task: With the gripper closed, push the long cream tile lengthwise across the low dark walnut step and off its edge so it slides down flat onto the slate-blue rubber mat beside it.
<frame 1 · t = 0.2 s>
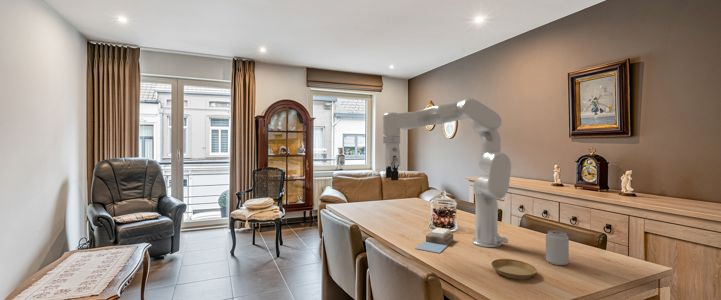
hand: (391, 179, 140), 31 cm above the table, tool pointing down, fingers open, 9 cm apart
can: (557, 263, 122), on the table
tile: (440, 234, 151), point 3 cm above the table, touching step
plant saucer: (513, 274, 113), on the table
step: (439, 241, 150), on the table
mat: (431, 247, 141), on the table
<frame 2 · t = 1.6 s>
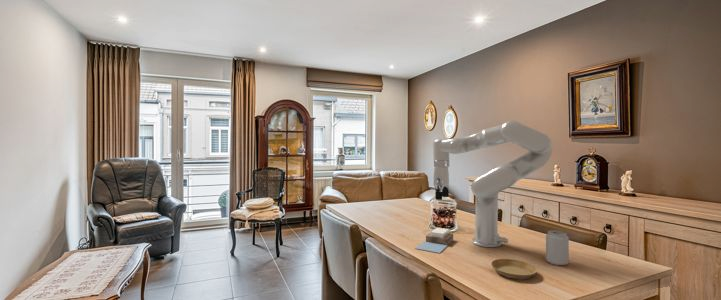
hand: (442, 198, 157), 19 cm above the table, tool pointing down, fingers open, 9 cm apart
nothing on the table moved.
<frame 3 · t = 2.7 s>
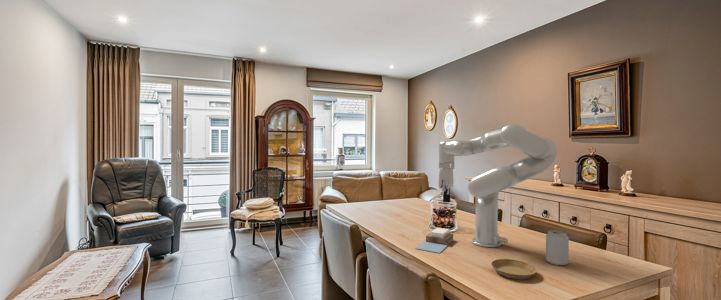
hand: (446, 201, 159), 17 cm above the table, tool pointing down, fingers closed
nothing on the table moved.
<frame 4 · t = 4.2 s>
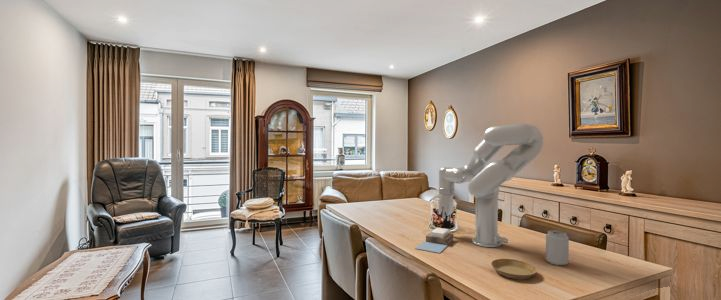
hand: (446, 228, 159), 4 cm above the table, tool pointing down, fingers closed
nothing on the table moved.
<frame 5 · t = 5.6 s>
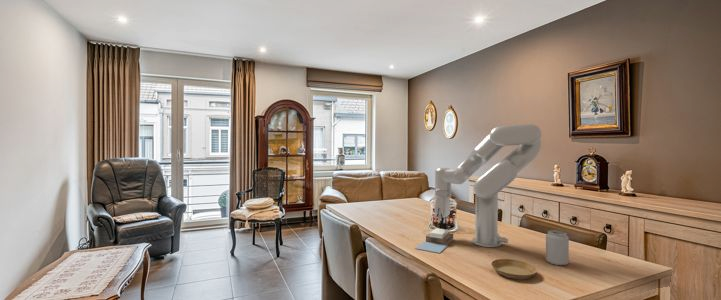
hand: (443, 230, 155), 4 cm above the table, tool pointing down, fingers closed
tile: (439, 235, 149), point 3 cm above the table
everything else where it was.
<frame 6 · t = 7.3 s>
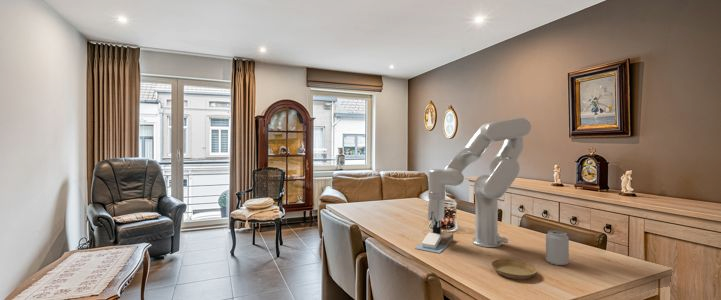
hand: (436, 235, 147), 4 cm above the table, tool pointing down, fingers closed
tile: (431, 242, 143), point 2 cm above the table, tilted 17°, touching gripper
everything else where it was.
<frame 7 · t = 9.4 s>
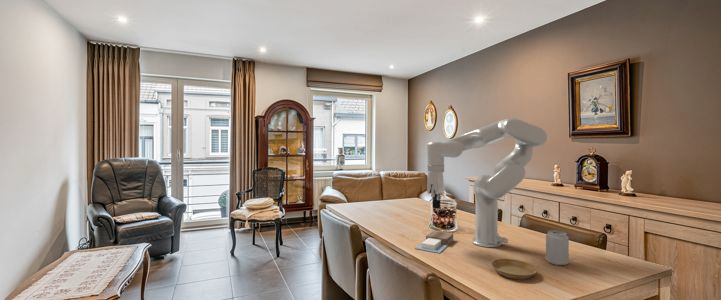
hand: (436, 208, 146), 17 cm above the table, tool pointing down, fingers closed
tile: (431, 245, 142), resting on mat
everything else where it was.
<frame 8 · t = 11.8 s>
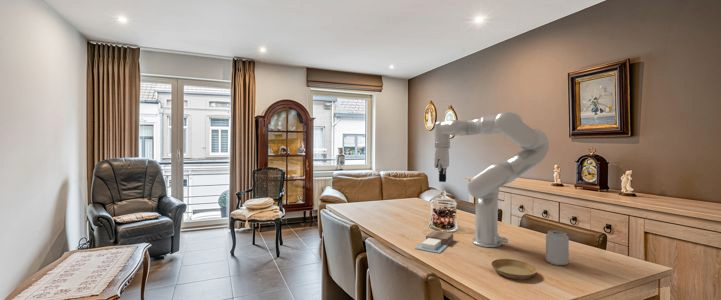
hand: (442, 181, 161), 27 cm above the table, tool pointing down, fingers closed
nothing on the table moved.
at the end: tile inside the target area (1.8 cm from its centre), resting on mat; tile touching mat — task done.
